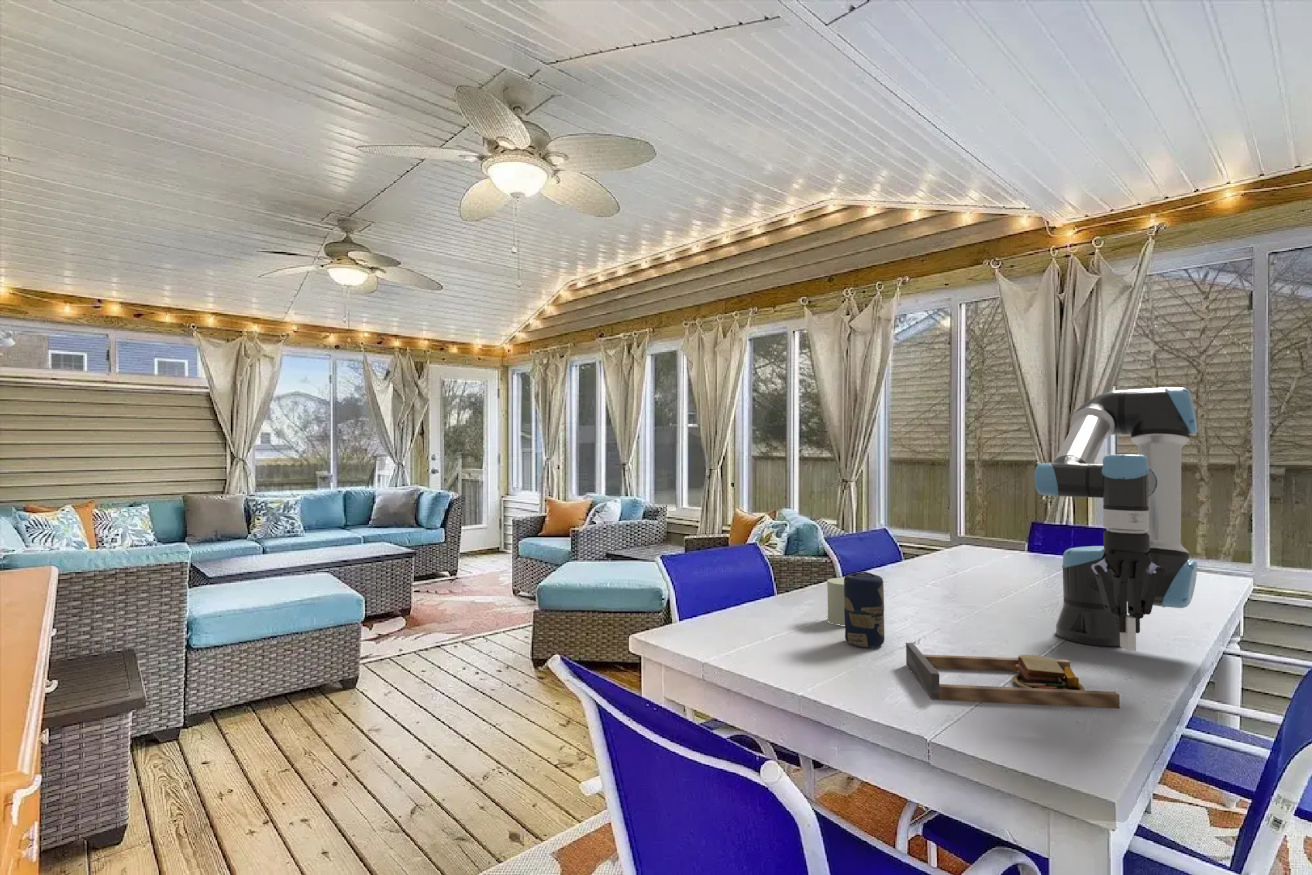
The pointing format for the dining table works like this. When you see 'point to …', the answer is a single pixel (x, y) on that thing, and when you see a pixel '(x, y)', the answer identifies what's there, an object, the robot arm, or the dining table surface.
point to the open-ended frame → (929, 680)
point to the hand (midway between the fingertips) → (1127, 648)
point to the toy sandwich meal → (1044, 674)
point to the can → (836, 601)
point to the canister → (864, 609)
